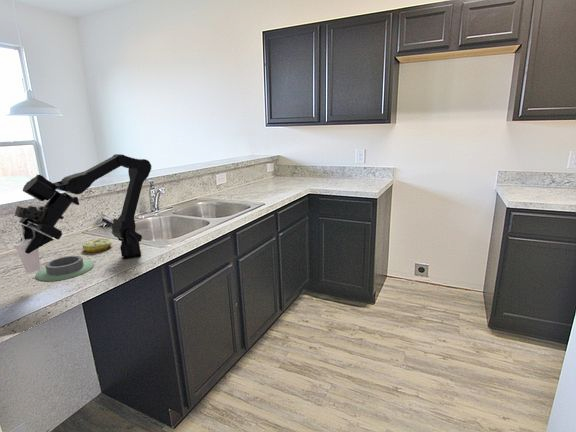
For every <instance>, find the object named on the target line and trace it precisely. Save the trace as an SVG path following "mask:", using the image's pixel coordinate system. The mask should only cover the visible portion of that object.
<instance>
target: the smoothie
mask: <svg viewBox="0 0 576 432" xmlns="http://www.w3.org/2000/svg"><path fill="white" fill-rule="evenodd" d="M19 232H20V235H21V237H22V241H20V240H19V241H16V242H14V243H13V248H14V249H15V250H16V253H17V255H18V257H19V259H20V262H21V264H22V266H23V268H24V271H25V273H27V274H31V273H35V272H36V273H37V272H39V271H40V270H41V262H40V252H39V250H40V249H39V248H40V247H39V248H37V249H36V250H34V251H32V252H31V253H29V254H27V253H25V250H26V248H27V247H28V245H29V243H30V241H31V239H27V240H25V239H24V235H23V228H20V229H19Z"/></svg>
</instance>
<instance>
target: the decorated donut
mask: <svg viewBox="0 0 576 432" xmlns="http://www.w3.org/2000/svg"><path fill="white" fill-rule="evenodd" d="M112 245H113V242H112V240H111V239H110V238H105V237H100V238H94V239H90V240H87V241H85V242H84V243H82V249H83V251H85V252H87V253H97V252H102V251H106V250H108V248H110V247H111V246H112Z"/></svg>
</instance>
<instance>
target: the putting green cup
mask: <svg viewBox="0 0 576 432" xmlns="http://www.w3.org/2000/svg"><path fill="white" fill-rule="evenodd" d="M94 266H95V262H94V261H92V260H90V259H84V258H83V257H82V256H80V255H68V256H61V257H58V258H54V259H52V260H50V261H47V262H46V263H45V267H43V268H41V269H40V270H38V271H36V274H35V279H36V280H37V281H42V282H54V281H62V280H68V279H71V278H74V277H75V278H76V277H78V276H81V275H83V274H85V273H87V272H90V271H91V270H92V269H93V268H94Z"/></svg>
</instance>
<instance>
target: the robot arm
mask: <svg viewBox="0 0 576 432" xmlns="http://www.w3.org/2000/svg"><path fill="white" fill-rule="evenodd" d="M120 167H123V168H126V169H128V177H129V181H128V185H127V190H126V193H125V198H124V201H123V206H122V209H121V213H120V216H119V217H118V218H115V217H114V218H113V221H112V226H111V227H110V229H111V233H112V235H113V236H114V237H115V238H117V239H118V241H121V243H120V253H121V257H122V259H123V260H127V259H128V260H129V259H134V258H139V257H140V258H141V257H142V250H141V244H140V242H142V239H143V235H142V234H140V233H138V232H137V231H136V228H137V227H136V226H137V225H136V221H135V216H136V212H137V207H138V204H139V200H140V196H141V192H142V188H143V184H144V182H145V181H146V180H147V178H148V177H149V175H150V173H151V171H152V167H153V166H152V164H151V162H150V161H149V160H148V159H147V158H146V159H145V158H135V157H131V156H127V155H125V154H122V153H121V154H119V153H117V154H113V155H112V156H111V157H109V158H107V159H105V160H103V161H101V162H100V163H97V164H96V165H93V166H91V168H90V167H89V168H88V169H86V170H85V171H84V170H83V171H82V172H77V173H74V174H71V175H70V174H69V175H67V176H64V177H63V178H62V179H61V180H60V181H56V182H55V181H54V182H51V181H50V180H48V179H46V177H44V176H43V175H41V174H36V175H35V177H32V178H30V180H29V181H27V182H26V183H25V185H23V188H22V191H23V193H26V194H27V195H29V196H31V197H33V198H34V199H36V200H38V201H40V202H43V201H47V202H46V203H45V205H44V206H39V207H38V208H37V206H32V205H28V206H21V205H17V206H16V209H15V213H14V216H15V217H17V218H20V220H19V223H20V224H21V227H22V228H21V229H22V231H23V235H24V239H25V240H27V239H31V241H30V243H29V245H28V247H27V248H26V250H25V253H27V254H29V253H31V252H32V251H34V250H36V249H37V248H41V247H43V246H44V245H47V244H48V243H50V242H52V241H54V240H55V239H56V240H58V241H59V240H60V239H61V237H62V236H63V232H62V230H60V229H58V228H57V227H56V225H57V223H58V222H59V221H60V220H63V219H64V216H63V215H64V214H65V213H66V211H68V209H69V207H70V206H71V204H73V205H76V206H79V205H80V201H79V198H78V196H72V195H70V194H73V195H80V194H83V193H84V192H86V191H87V190H88V189H89V188H90V187H91V186H92V184H93V183H95V181H97V180H98V179H101V178H102V177H104V176H105V175H108V174H109V173H111V172H113V171H115V170H116V169H118V168H120ZM60 191H62V193H61V192H60ZM19 241H22V236H21V238H20V240H19Z"/></svg>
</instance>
